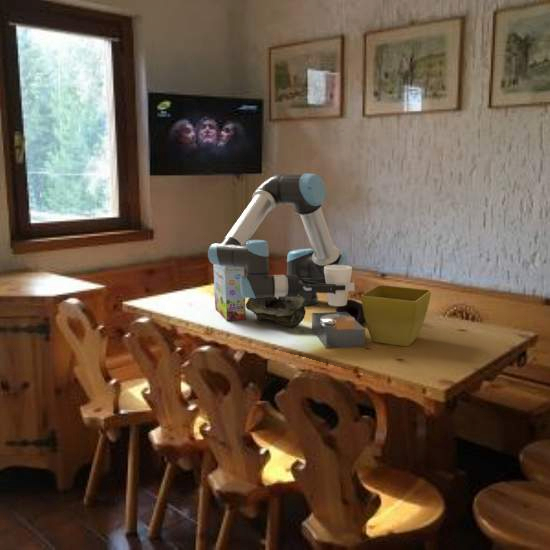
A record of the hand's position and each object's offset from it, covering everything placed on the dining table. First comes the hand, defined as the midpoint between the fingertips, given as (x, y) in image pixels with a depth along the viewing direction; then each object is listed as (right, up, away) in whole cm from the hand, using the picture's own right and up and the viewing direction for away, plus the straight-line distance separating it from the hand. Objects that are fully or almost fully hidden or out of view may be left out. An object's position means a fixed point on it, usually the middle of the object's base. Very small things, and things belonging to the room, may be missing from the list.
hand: (350, 283), depth 212 cm
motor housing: (-4, -19, +3) cm, 19 cm away
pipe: (+4, -15, +26) cm, 30 cm away
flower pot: (+15, -20, 0) cm, 25 cm away
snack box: (-44, -13, +36) cm, 59 cm away
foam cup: (-4, -7, +1) cm, 8 cm away
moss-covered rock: (-25, -16, +22) cm, 37 cm away
